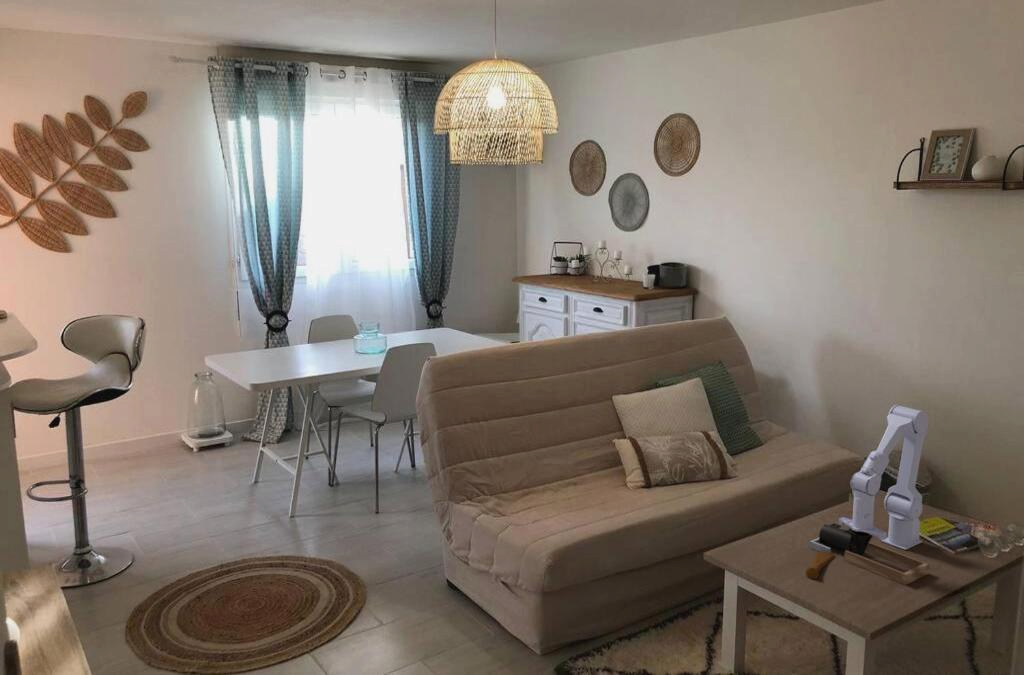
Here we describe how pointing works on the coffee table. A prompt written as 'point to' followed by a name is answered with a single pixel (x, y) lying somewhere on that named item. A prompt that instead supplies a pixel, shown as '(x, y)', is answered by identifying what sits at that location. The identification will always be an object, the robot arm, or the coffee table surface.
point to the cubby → (905, 578)
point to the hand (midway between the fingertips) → (860, 554)
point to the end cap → (837, 537)
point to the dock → (819, 546)
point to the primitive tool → (818, 564)
